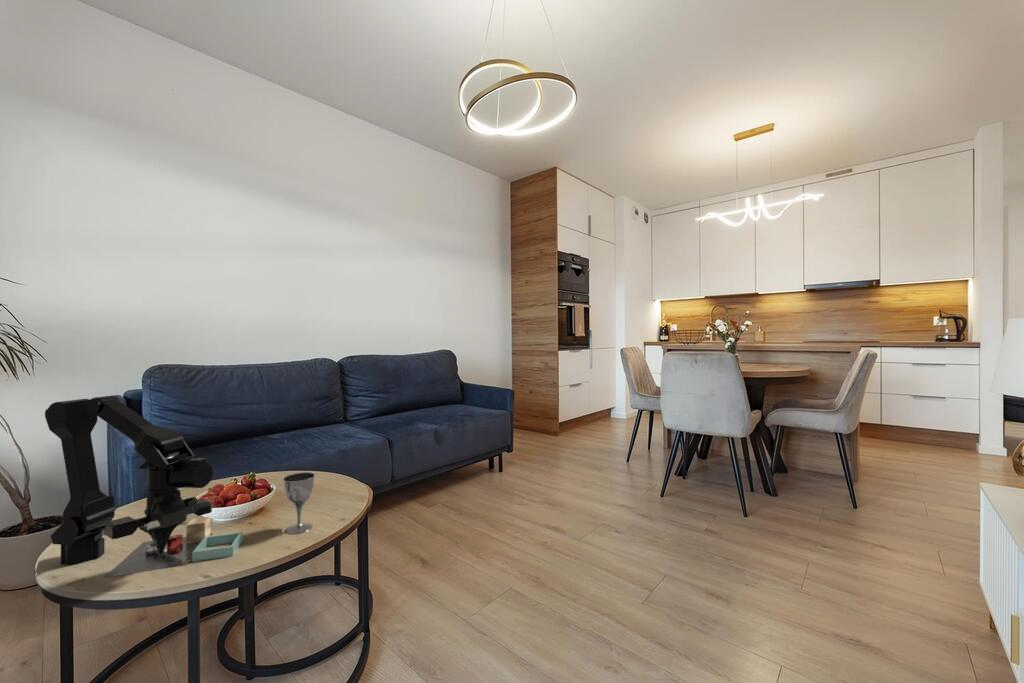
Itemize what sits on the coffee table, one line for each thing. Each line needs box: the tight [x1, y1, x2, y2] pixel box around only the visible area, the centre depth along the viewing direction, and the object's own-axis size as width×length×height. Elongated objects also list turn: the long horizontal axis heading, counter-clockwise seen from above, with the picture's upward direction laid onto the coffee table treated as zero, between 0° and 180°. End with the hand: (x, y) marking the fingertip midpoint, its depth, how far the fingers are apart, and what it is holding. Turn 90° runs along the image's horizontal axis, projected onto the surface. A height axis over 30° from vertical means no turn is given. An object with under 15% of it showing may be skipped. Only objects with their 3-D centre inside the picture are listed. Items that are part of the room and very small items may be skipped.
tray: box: [191, 531, 244, 563], centre depth 103 cm, size 8×8×3 cm
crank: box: [146, 533, 184, 557], centre depth 100 cm, size 11×3×5 cm, turn 70°
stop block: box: [185, 516, 211, 544], centre depth 108 cm, size 4×4×5 cm
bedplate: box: [104, 532, 214, 578], centre depth 101 cm, size 15×17×1 cm
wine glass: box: [282, 471, 315, 535], centre depth 116 cm, size 8×8×15 cm
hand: (160, 553), depth 96 cm, fingers closed
